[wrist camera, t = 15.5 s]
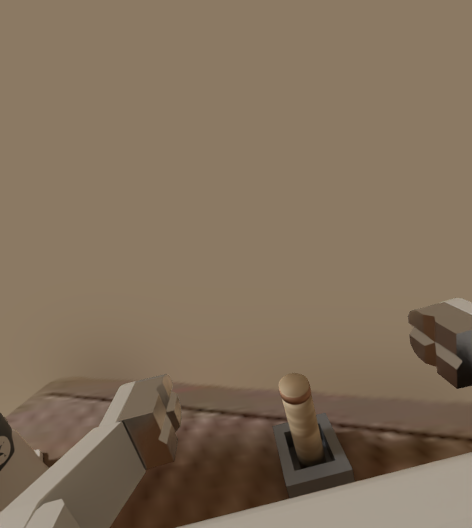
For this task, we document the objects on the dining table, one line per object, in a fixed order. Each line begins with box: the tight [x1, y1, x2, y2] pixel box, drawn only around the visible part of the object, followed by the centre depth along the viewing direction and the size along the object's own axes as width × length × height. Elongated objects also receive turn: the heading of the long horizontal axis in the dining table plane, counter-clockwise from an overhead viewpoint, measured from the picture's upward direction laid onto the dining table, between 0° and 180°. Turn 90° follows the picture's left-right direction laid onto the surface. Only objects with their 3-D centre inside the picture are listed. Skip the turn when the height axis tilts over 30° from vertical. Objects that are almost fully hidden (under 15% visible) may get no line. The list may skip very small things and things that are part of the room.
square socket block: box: [272, 413, 355, 498], centre depth 34 cm, size 8×8×4 cm
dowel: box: [279, 373, 326, 469], centre depth 33 cm, size 4×4×13 cm
